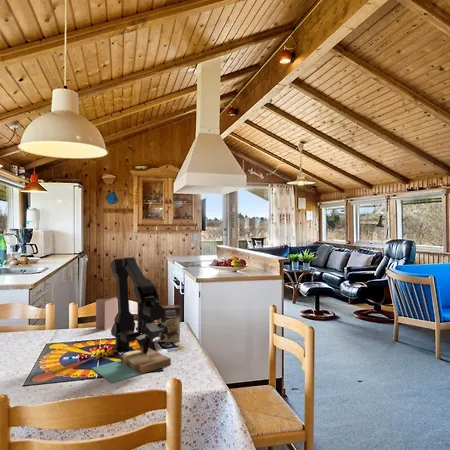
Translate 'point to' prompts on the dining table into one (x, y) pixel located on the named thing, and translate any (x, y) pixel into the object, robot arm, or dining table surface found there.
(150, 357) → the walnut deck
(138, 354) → the birch tile
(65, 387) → the dining table surface
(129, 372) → the teal mat
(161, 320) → the coffee box
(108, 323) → the greeting card
